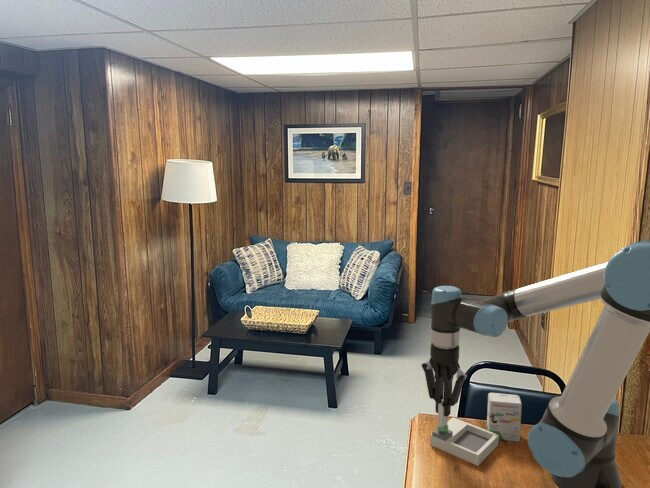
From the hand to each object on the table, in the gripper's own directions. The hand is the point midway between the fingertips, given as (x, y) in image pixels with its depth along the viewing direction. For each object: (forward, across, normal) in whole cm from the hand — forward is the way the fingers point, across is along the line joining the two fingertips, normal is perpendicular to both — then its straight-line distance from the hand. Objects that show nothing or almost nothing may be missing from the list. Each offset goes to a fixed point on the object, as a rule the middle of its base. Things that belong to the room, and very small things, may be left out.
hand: (442, 424), depth 131 cm
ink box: (+6, -10, -16) cm, 20 cm away
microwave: (+6, -4, -4) cm, 9 cm away
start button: (+3, 0, 0) cm, 3 cm away
